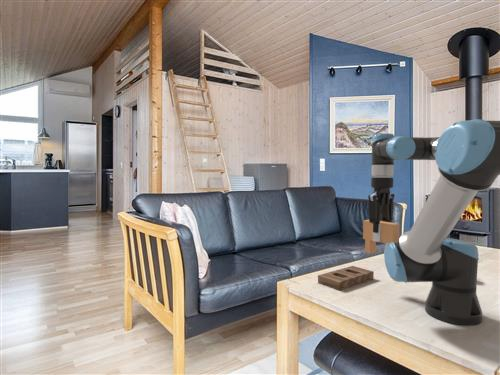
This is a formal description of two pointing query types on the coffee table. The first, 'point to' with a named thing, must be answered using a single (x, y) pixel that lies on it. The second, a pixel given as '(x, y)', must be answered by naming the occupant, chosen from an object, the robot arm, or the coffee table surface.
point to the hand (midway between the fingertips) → (380, 240)
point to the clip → (387, 234)
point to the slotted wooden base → (345, 277)
